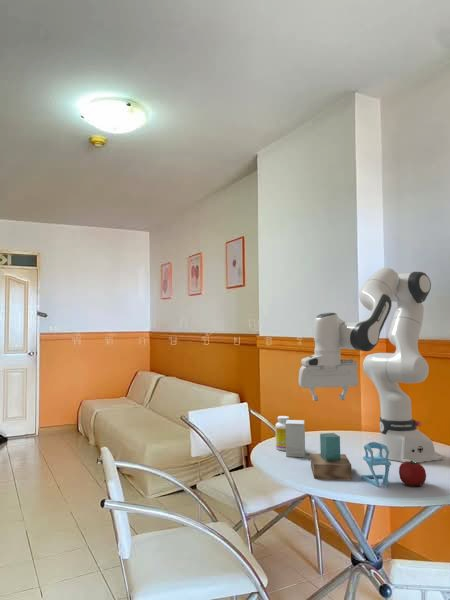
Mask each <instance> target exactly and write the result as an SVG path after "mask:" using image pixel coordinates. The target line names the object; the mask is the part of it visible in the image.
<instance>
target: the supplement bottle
mask: <svg viewBox="0 0 450 600" xmlns="http://www.w3.org/2000/svg"><path fill="white" fill-rule="evenodd" d="M286 420H290V417H289V416H288V415H287V416H286V415H278V416H277V421H278V422H276V423H275V425H274V426H275V448H276V450H278V451H285V452H286Z"/></svg>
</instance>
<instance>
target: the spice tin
mask: <svg viewBox="0 0 450 600" xmlns="http://www.w3.org/2000/svg"><path fill="white" fill-rule="evenodd" d="M319 437H320V438H319V440H320V441H319V444H320V445H319V446H320V448H319V449H320V454H321V458H322V459H324V460H325V461H326V462H329V461H341V458H340V454H341V436H340V435H338V434H336V433H335V432H327V433H319Z"/></svg>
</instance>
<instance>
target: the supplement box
mask: <svg viewBox="0 0 450 600" xmlns="http://www.w3.org/2000/svg"><path fill="white" fill-rule="evenodd" d="M305 425H306V424H305V419H289V420H286V451H285V456H286V457H289V458H305V457H306V429H305V427H306V426H305Z"/></svg>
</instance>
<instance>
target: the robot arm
mask: <svg viewBox="0 0 450 600" xmlns="http://www.w3.org/2000/svg"><path fill="white" fill-rule="evenodd" d="M431 288H432V282H431V280H430V277H429V276H428V275H427V274H426V272H423V271H412V272H403V273H397V272H396V271H395V270H394V269H392V268H390V267H382V268H380V269H378V270H377V271H376V272H374V273H373V274H372V275H371V276H370V277H369V278H368V279H367V280H366V281H365V283H363V285H362V286H361V288H360V289H359V290H360V291H359V293H358V297H359V301H360V303H361V305H362V306H363V307H365V309H367V310H368V311H370V313H369V315H368V316H367V318H366V319H364V320H362V321H352V322H351V321H350V322H348V321H345V320H342V319H341V318H340V317H339V316H338V314H337V313H335V312H324V313H320V314H318V315H317V316H315V319H314V323H313V341H314V350H313V352H314V354H312V355H309V356H306V357H303V358H301V361H300V363H301V367H300V368H299V372H298V385H299V386H300V388H303V389H307V388H308V389H309V390H308V391H309V392H310V394H311V396H312V401H314V402H318V401H319V395H317V394H315V392H314V391H316V389H315V388H341V389H342V393H340V394H338V395H339V397H338V398H339V401H345V400H346V395H347V393H348V391H349V387H352V388H353V387H357V386H358V384H359V377H358V372H357V371H358V362H356V361H355V360H353V359H351V358H350V359H342V358H341V355H342V354H341V350H354V351H355V350H357V351H362V352H370V351H372V350H374V348H375V347H377V345H378V342H379V340H380V336H381V333H382V330H383V328H384V326H385V323H386V321H387V319H388V316H389V315H390V312H391V309H392V304H393V303H392V302H394V303H395V302H396V303H397V308H396V310H395V312H394V314H393V317H392V320H391V324H390V327H389V330H388V334H387V337H388V340H389V342H390V343H391V344H392V345H393V346H394V347H395V351H394V352H375V353H369V354H367V356H365V357H364V359H363V362H362V369H363V372H364V374H365V375H366V376H367V378H369V379H370V380H371V382H372V383H373V385H374V386H375V388H376V391H377V393H378V398H379V405H380V407H379V408H380V417H379V431H380V439H379V443H380V444H383V445H385V446H387V448H388V450H389V455H388V460H391V461H396V462H401V463H404V462H406V461H408V462H410V461H413V462H417V463H424V462H423V461H427V462H431V461H430V460H436V461H438V460H437V459H442V460H443V456H442V455H441V453H439V452H438V451H436V450H435V446H434V443H433V441H432V440H431V438H429V436H427V435H425V434H424V433H423V432H421V431H420V430H419V429H418V428H417V427H419V428H421V427H422V426H423V424H422V421H420V420H416V419H414V418H413V415H412V400H411V397H410V396H409V395H408V394H407V393H405V392H404V391H403V390H402V388H401V387H400V385H399V383H401V384H418V383H422V382H424V381H425V380H426V379H427V378H428V376H429V371H430V370H429V364H428V362H427V360H426V359H425V358H424V357H423V355H421V353H420V350H419V347H418V346H419V339H420V333H421V329H422V325H423V322H424V321H423V320H424V314H425V313H424V307H425V306H424V305H423V303H424V302H425V301H426V299H427V297H428V296H429V293H430V291H431V290H432V289H431ZM379 452H380V449H378V451H377V456H379ZM386 454H387V453H386V451H385V449H382V456H383V457H384V458H385V457H386Z"/></svg>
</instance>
